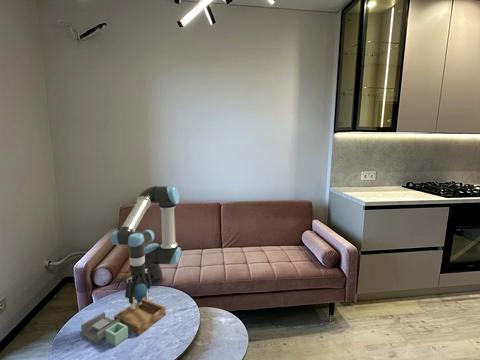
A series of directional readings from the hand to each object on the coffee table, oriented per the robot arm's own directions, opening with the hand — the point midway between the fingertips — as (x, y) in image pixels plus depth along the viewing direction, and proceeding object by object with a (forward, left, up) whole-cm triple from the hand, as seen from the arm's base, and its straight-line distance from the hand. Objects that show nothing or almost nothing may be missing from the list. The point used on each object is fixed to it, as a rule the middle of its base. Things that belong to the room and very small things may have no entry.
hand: (139, 303), depth 146 cm
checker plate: (+16, -10, -6) cm, 20 cm away
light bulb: (0, 0, -1) cm, 1 cm away
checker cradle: (+16, -10, -9) cm, 21 cm away
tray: (0, 0, -9) cm, 9 cm away
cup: (+16, +2, -9) cm, 18 cm away
